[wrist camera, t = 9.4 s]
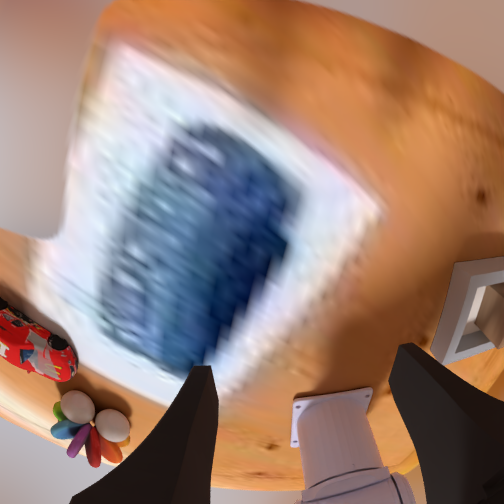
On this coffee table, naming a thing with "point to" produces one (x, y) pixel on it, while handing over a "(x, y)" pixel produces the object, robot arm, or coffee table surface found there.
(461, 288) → the tray
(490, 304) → the block with grey knob
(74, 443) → the rainbow flower
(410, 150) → the coffee table surface
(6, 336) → the race car
